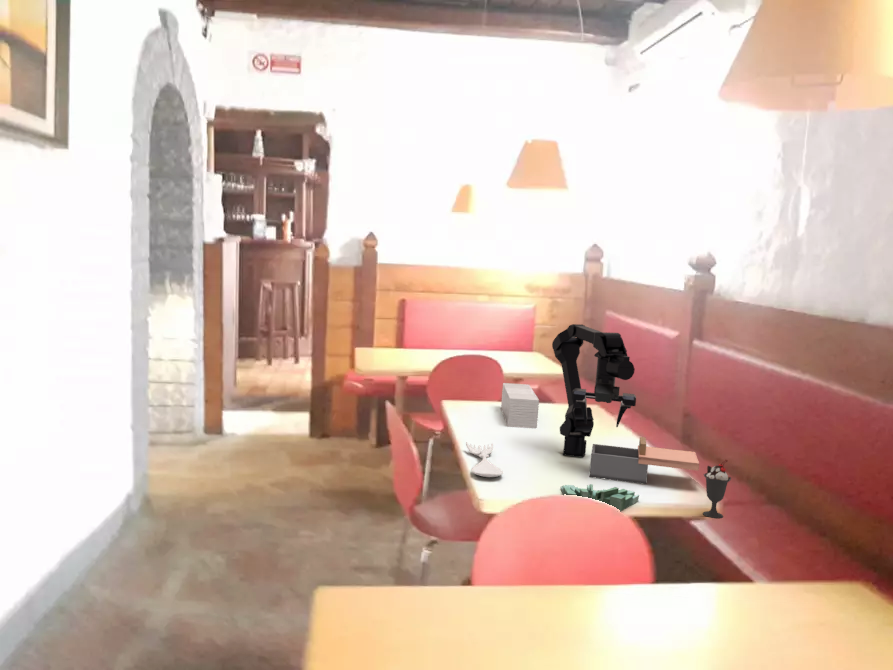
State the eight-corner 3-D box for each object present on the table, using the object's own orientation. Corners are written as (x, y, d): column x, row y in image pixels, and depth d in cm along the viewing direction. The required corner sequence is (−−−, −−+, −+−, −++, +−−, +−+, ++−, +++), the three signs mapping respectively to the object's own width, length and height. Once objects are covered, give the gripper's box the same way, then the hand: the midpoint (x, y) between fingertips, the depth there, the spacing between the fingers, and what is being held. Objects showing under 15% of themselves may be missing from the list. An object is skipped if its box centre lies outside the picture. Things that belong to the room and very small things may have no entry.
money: (568, 510, 197) (569, 491, 196) (559, 490, 213) (561, 472, 212) (647, 515, 196) (649, 497, 196) (633, 495, 213) (634, 478, 212)
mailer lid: (638, 463, 221) (640, 445, 221) (637, 451, 235) (639, 434, 234) (698, 470, 218) (700, 452, 217) (694, 458, 231) (695, 441, 231)
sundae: (729, 521, 195) (735, 462, 193) (701, 517, 196) (707, 459, 194) (725, 512, 201) (731, 456, 199) (698, 509, 202) (703, 453, 201)
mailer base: (589, 476, 226) (591, 453, 225) (590, 466, 237) (592, 443, 236) (646, 484, 222) (648, 460, 221) (645, 472, 234) (647, 450, 233)
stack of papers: (500, 409, 315) (502, 382, 314) (527, 410, 316) (529, 384, 314) (507, 427, 284) (509, 398, 282) (536, 429, 284) (539, 400, 283)
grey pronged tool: (492, 452, 247) (493, 441, 246) (505, 483, 215) (505, 471, 215) (464, 451, 246) (465, 440, 246) (472, 481, 215) (473, 469, 214)
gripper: (572, 374, 228) (568, 427, 230) (638, 381, 224) (633, 434, 226) (575, 369, 239) (570, 419, 240) (637, 375, 235) (632, 426, 236)
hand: (601, 425), depth 235 cm, fingers open, 9 cm apart
